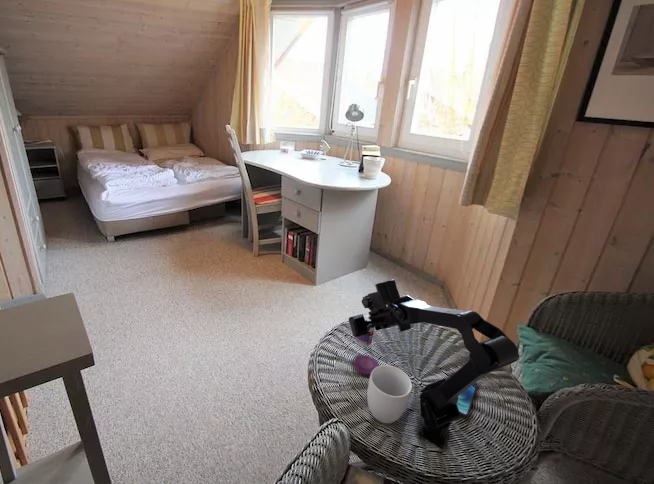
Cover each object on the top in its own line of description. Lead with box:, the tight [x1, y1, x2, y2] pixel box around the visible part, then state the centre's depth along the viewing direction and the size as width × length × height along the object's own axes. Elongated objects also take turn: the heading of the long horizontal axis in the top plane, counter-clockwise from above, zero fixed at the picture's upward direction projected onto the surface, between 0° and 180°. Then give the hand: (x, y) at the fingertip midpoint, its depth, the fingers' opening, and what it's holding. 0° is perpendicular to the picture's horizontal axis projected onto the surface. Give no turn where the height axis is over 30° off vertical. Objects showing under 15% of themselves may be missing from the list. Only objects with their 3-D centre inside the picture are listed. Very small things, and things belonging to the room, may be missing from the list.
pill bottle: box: [355, 314, 375, 347], centre depth 120 cm, size 5×5×10 cm
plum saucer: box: [353, 354, 380, 377], centre depth 117 cm, size 8×8×1 cm
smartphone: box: [450, 372, 478, 418], centre depth 108 cm, size 8×1×15 cm
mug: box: [366, 364, 413, 424], centre depth 100 cm, size 15×11×13 cm
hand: (363, 323), depth 120 cm, fingers closed on pill bottle, 5 cm apart
